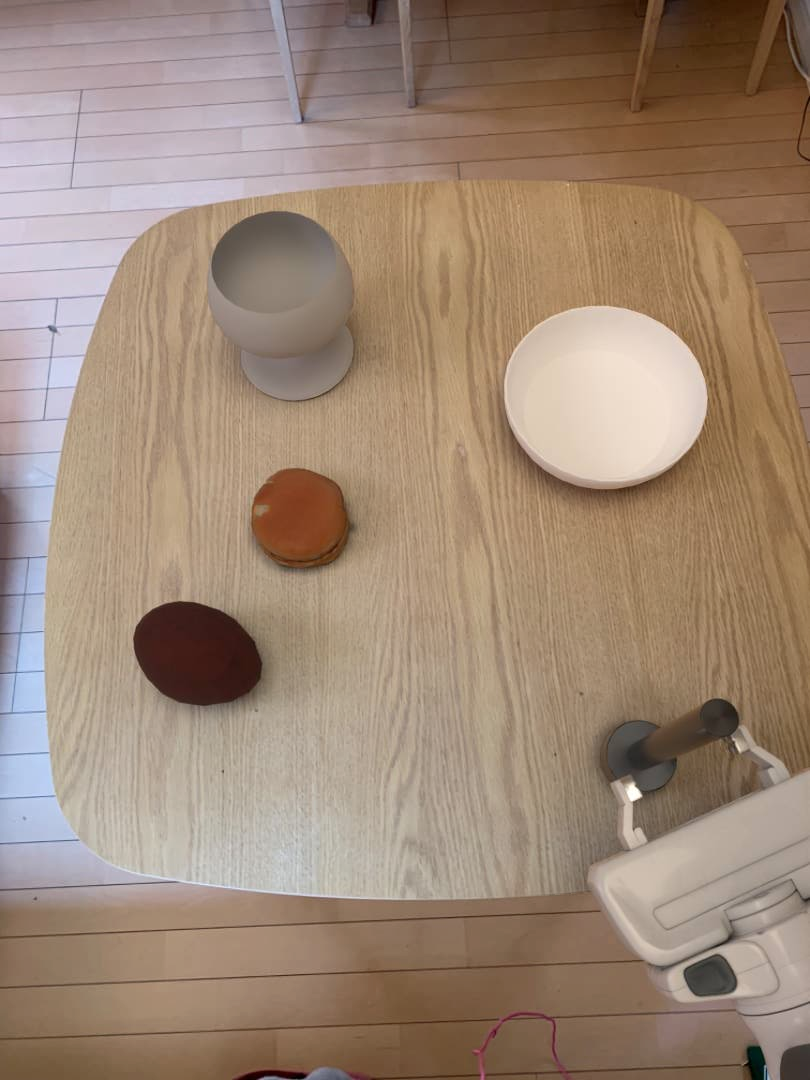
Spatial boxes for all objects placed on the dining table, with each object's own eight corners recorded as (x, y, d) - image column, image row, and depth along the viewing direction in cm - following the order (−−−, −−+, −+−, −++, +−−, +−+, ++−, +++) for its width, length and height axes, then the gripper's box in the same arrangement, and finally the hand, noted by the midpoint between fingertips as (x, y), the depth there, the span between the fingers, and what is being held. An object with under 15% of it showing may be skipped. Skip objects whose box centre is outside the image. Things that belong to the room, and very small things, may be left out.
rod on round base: (676, 740, 76) (779, 691, 54) (656, 805, 74) (754, 782, 52) (612, 714, 77) (686, 655, 55) (590, 778, 75) (659, 743, 53)
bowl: (622, 312, 92) (635, 275, 86) (728, 454, 86) (749, 425, 80) (464, 387, 89) (467, 355, 84) (562, 540, 83) (572, 517, 77)
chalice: (281, 434, 88) (253, 353, 74) (207, 344, 92) (168, 252, 78) (388, 361, 91) (381, 270, 77) (312, 277, 95) (291, 176, 81)
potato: (174, 602, 82) (143, 571, 73) (287, 646, 80) (270, 620, 71) (132, 685, 79) (95, 664, 70) (248, 733, 77) (225, 717, 69)
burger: (363, 551, 83) (359, 534, 79) (273, 585, 82) (264, 570, 78) (330, 467, 87) (324, 446, 82) (243, 498, 86) (233, 479, 81)
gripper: (927, 881, 57) (815, 692, 62) (655, 1011, 55) (561, 804, 59) (880, 879, 63) (781, 706, 68) (633, 996, 61) (549, 809, 65)
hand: (676, 753), depth 64 cm, fingers open, 8 cm apart
